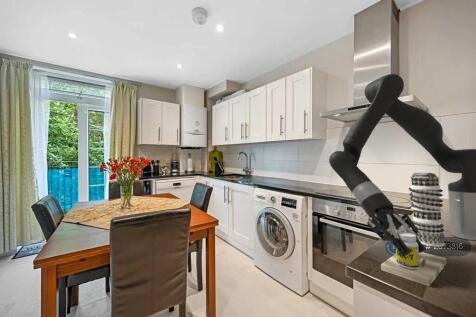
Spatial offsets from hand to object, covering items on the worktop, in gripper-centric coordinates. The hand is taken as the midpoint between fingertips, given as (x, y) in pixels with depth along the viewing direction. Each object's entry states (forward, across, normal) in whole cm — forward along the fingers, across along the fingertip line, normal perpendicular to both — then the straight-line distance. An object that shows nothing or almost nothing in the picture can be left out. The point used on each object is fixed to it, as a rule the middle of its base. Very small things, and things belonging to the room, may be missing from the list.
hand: (414, 252), depth 54 cm
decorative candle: (-6, +28, +15) cm, 32 cm away
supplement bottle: (+2, 0, +4) cm, 5 cm away
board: (+2, +4, +7) cm, 8 cm away
